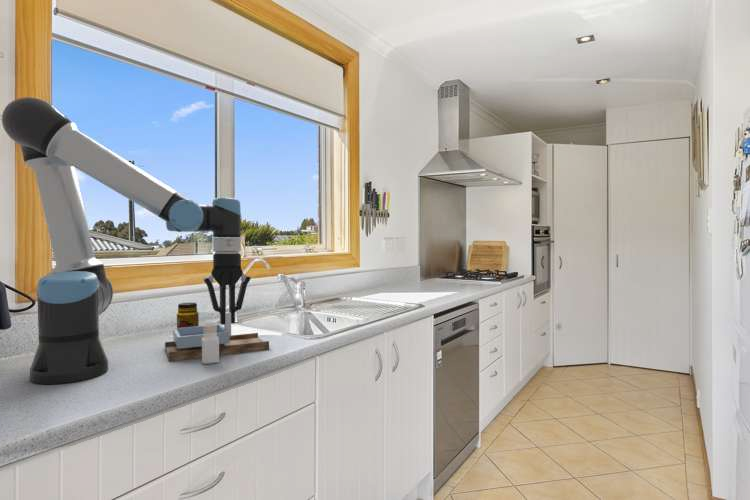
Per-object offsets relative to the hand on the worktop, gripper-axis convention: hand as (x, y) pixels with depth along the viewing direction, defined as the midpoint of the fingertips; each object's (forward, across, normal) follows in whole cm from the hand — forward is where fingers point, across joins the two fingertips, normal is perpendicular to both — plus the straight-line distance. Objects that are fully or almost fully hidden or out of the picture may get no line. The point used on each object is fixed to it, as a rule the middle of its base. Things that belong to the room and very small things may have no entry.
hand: (227, 335), depth 131 cm
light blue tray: (+3, -7, 0) cm, 8 cm away
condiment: (+4, -9, +13) cm, 16 cm away
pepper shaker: (+4, -7, -13) cm, 15 cm away
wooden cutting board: (+4, -3, 0) cm, 5 cm away
